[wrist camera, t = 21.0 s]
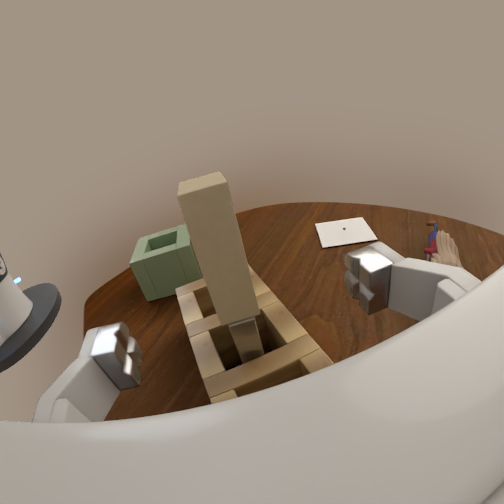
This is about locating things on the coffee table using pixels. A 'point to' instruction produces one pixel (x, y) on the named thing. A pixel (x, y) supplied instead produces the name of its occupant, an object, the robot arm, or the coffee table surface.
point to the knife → (222, 258)
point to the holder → (165, 262)
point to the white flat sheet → (344, 232)
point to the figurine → (442, 248)
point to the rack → (226, 354)
